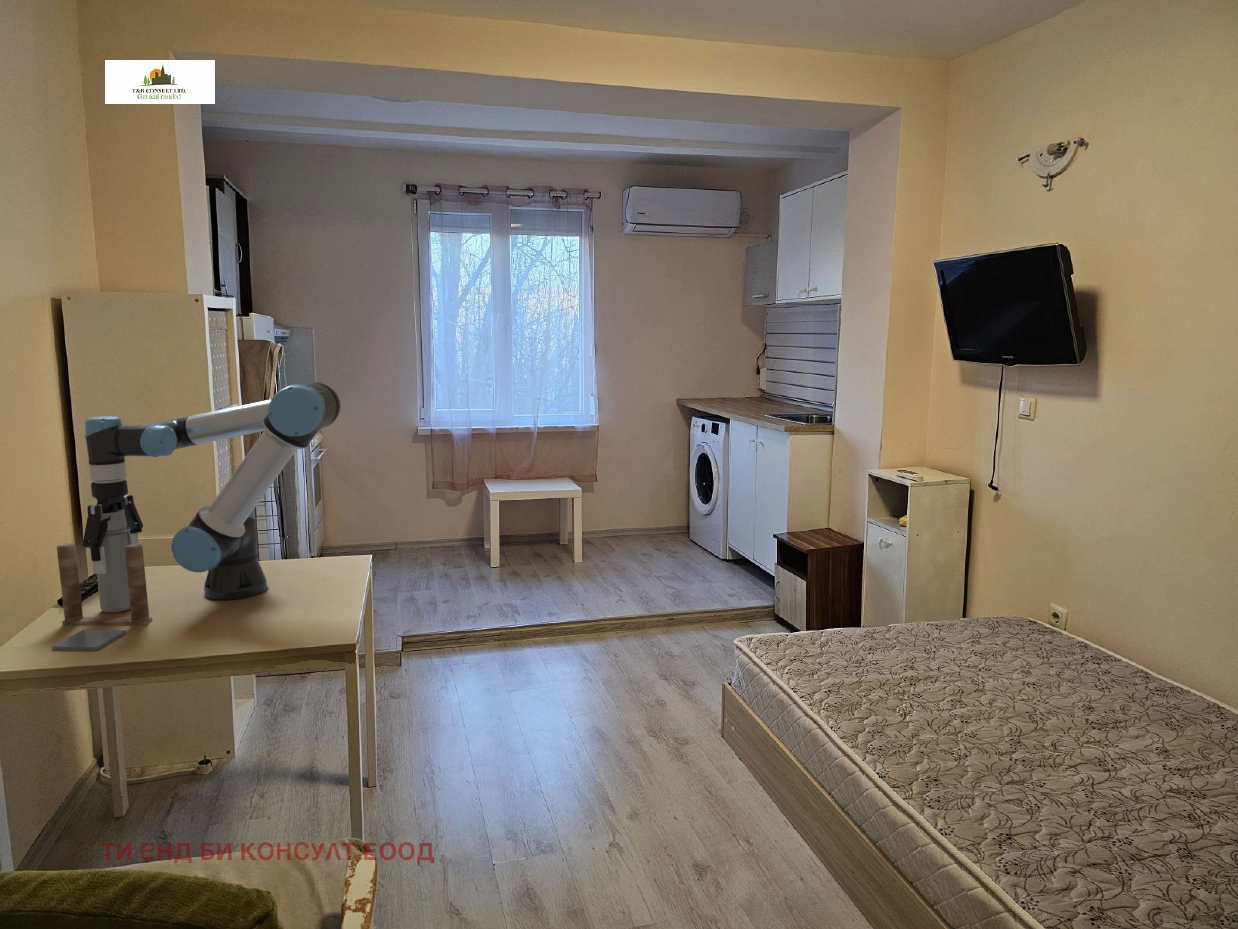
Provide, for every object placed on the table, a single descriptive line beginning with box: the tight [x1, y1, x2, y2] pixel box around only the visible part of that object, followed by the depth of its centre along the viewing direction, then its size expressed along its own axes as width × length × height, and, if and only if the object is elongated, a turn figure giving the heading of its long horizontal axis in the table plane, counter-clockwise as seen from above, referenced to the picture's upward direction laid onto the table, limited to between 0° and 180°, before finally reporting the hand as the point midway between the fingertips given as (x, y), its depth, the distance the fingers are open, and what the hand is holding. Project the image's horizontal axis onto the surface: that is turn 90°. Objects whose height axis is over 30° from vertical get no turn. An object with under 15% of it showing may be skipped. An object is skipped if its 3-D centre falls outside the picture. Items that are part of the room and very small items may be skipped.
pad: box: [51, 629, 127, 652], centre depth 179 cm, size 10×10×1 cm
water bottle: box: [96, 509, 132, 614], centre depth 198 cm, size 9×8×25 cm
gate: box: [56, 543, 153, 626], centre depth 189 cm, size 20×4×19 cm, turn 89°
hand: (117, 565), depth 199 cm, fingers open, 12 cm apart
